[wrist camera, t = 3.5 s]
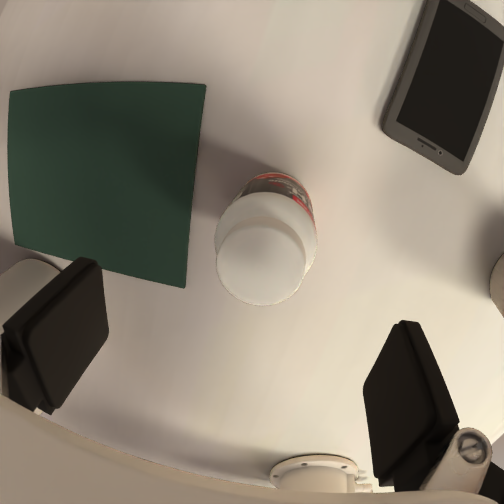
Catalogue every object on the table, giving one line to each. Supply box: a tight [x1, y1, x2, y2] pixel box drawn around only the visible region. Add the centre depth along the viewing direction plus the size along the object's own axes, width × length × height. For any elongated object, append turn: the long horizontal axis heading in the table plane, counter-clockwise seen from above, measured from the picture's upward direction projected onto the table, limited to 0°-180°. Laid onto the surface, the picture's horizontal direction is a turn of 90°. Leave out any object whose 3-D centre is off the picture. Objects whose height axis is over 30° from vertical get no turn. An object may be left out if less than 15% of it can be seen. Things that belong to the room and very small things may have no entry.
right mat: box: [7, 82, 206, 288], centre depth 24 cm, size 20×16×1 cm
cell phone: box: [382, 0, 504, 175], centre depth 17 cm, size 7×14×1 cm, turn 160°
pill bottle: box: [215, 172, 317, 306], centre depth 19 cm, size 5×5×10 cm
